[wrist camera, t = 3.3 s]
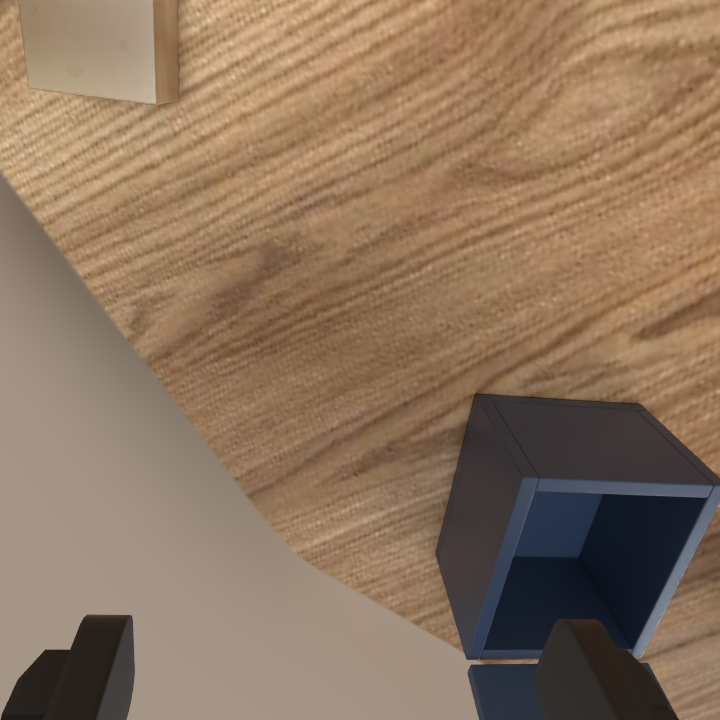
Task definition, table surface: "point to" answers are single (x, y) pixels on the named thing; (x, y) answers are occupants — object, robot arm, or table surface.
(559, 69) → the table surface
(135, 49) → the block
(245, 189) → the table surface
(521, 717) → the lid
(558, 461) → the chest
